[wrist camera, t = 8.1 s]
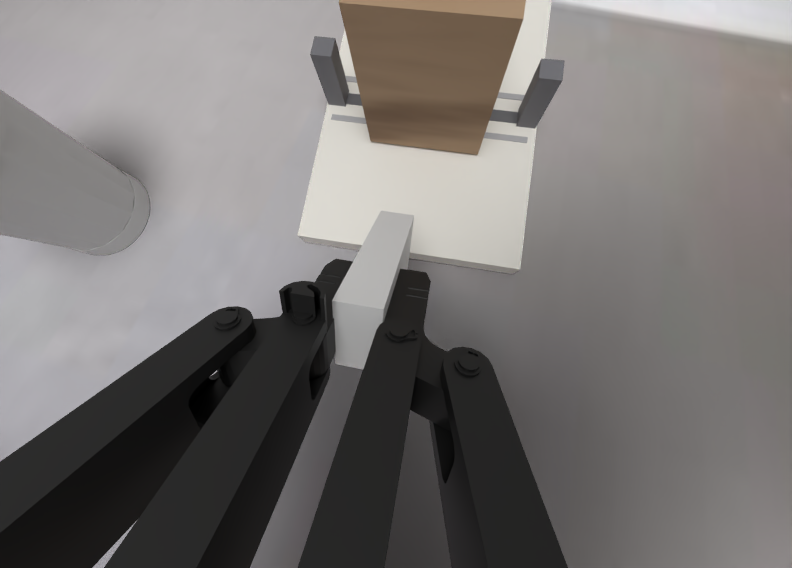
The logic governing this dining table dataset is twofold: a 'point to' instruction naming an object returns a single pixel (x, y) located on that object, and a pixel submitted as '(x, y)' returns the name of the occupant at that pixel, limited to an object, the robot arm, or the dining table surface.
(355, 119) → the stand
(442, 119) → the block
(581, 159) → the dining table surface
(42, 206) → the cup
